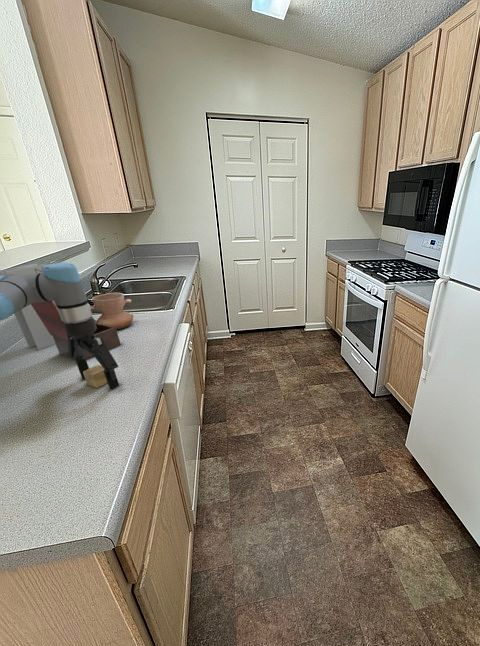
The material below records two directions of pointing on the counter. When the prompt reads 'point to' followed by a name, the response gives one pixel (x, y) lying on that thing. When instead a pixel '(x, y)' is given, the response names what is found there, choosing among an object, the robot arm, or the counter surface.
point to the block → (95, 376)
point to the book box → (102, 331)
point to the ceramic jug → (112, 310)
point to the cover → (50, 318)
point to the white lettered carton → (31, 313)
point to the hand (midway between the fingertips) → (100, 383)
